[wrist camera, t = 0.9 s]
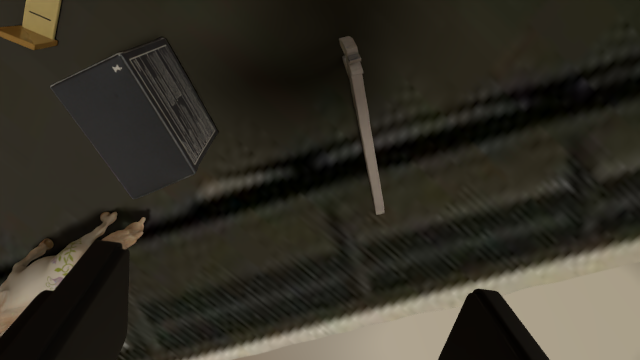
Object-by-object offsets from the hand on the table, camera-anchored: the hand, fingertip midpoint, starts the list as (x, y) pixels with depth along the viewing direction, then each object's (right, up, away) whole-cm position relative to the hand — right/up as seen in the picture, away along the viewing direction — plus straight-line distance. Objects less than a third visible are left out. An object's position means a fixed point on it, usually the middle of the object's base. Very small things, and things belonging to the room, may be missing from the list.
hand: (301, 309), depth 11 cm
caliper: (+5, +9, +31) cm, 33 cm away
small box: (-15, +12, +28) cm, 34 cm away
